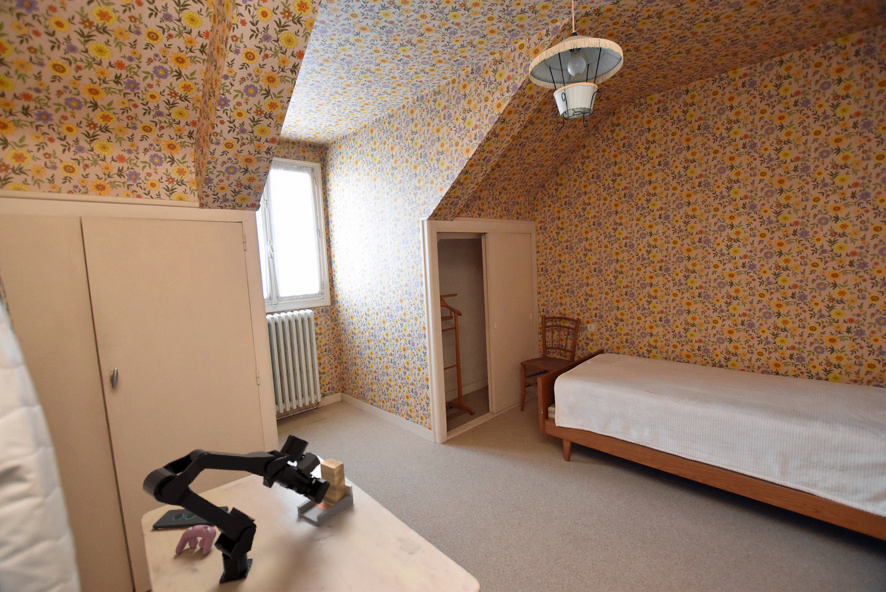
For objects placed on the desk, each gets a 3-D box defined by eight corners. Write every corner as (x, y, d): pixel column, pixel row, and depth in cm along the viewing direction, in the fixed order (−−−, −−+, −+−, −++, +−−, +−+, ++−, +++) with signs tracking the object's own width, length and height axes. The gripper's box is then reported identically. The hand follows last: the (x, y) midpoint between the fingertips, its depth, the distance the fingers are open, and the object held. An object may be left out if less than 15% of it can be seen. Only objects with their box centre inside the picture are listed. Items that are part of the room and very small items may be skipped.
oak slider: (337, 504, 126) (334, 468, 125) (323, 498, 130) (320, 463, 129) (346, 498, 130) (343, 462, 128) (332, 492, 134) (329, 457, 132)
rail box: (320, 526, 118) (318, 508, 118) (298, 515, 124) (296, 497, 124) (353, 502, 130) (352, 485, 129) (331, 493, 136) (330, 476, 135)
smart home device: (169, 509, 129) (229, 505, 130) (169, 514, 130) (229, 510, 130) (151, 526, 121) (215, 521, 121) (151, 531, 121) (215, 527, 122)
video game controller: (215, 551, 112) (220, 524, 115) (205, 555, 108) (210, 527, 111) (184, 551, 113) (189, 523, 116) (172, 555, 109) (178, 526, 112)
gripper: (322, 456, 114) (352, 474, 124) (284, 442, 125) (315, 460, 135) (301, 495, 108) (335, 511, 118) (263, 477, 119) (297, 493, 129)
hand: (320, 492), depth 125 cm, fingers closed
